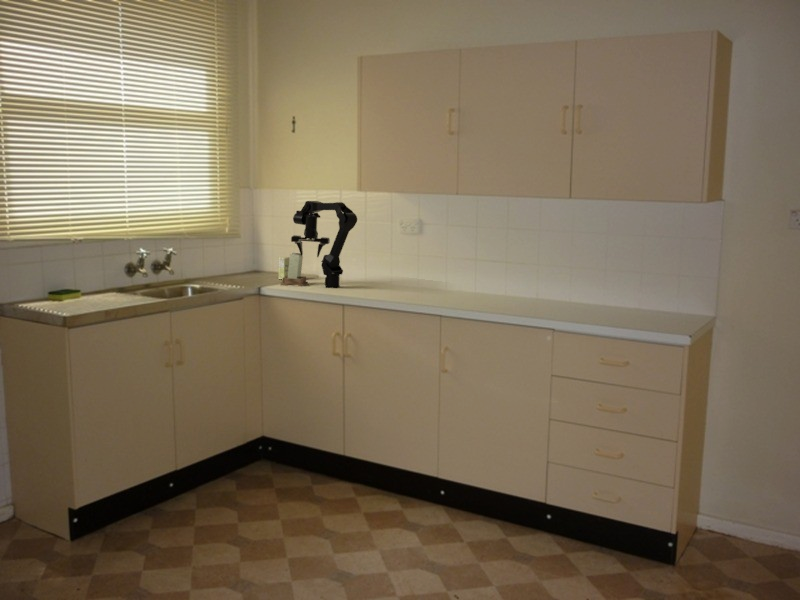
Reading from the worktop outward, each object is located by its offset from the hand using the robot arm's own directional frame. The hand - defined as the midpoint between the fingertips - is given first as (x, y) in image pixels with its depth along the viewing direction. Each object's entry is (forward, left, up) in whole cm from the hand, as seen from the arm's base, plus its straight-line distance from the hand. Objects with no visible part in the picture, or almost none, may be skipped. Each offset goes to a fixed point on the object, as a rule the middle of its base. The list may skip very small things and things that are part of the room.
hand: (309, 256), depth 408 cm
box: (+13, -13, -14) cm, 23 cm away
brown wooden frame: (+7, +5, -14) cm, 16 cm away
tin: (+7, +5, -12) cm, 15 cm away
